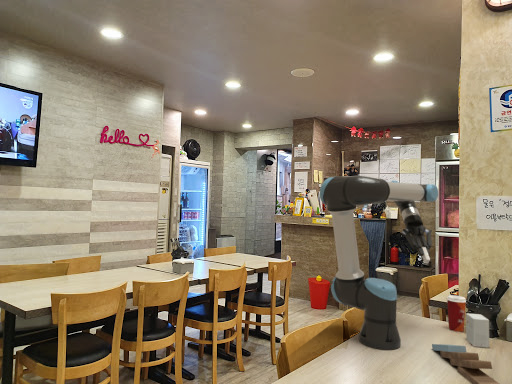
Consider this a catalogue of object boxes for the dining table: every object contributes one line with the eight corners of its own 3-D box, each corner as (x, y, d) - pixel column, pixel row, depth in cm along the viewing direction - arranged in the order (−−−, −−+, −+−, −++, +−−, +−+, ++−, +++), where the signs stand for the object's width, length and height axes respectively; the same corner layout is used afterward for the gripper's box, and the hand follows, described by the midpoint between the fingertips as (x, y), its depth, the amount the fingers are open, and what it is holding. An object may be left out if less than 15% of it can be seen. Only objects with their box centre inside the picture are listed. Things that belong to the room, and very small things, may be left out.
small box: (489, 348, 139) (489, 320, 140) (473, 346, 140) (473, 318, 141) (481, 340, 147) (481, 314, 147) (465, 339, 148) (466, 312, 149)
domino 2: (449, 358, 124) (471, 361, 112) (467, 358, 124) (490, 361, 113) (450, 364, 123) (473, 368, 112) (468, 365, 123) (492, 368, 112)
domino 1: (440, 350, 130) (459, 352, 119) (456, 351, 130) (477, 353, 119) (440, 357, 129) (461, 359, 118) (457, 357, 129) (479, 360, 118)
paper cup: (465, 334, 154) (466, 300, 155) (445, 330, 159) (445, 297, 159) (466, 328, 161) (467, 296, 162) (446, 325, 165) (447, 293, 166)
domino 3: (457, 366, 118) (481, 384, 106) (476, 366, 118) (501, 385, 106) (457, 372, 118) (481, 392, 106) (476, 373, 118) (501, 392, 106)
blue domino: (431, 344, 137) (447, 345, 125) (448, 344, 136) (465, 345, 125) (432, 349, 136) (448, 351, 125) (448, 350, 136) (466, 352, 125)
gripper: (423, 225, 173) (440, 267, 155) (395, 224, 173) (408, 266, 156) (429, 214, 167) (446, 256, 150) (400, 213, 168) (414, 255, 151)
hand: (427, 261), depth 153 cm, fingers closed
